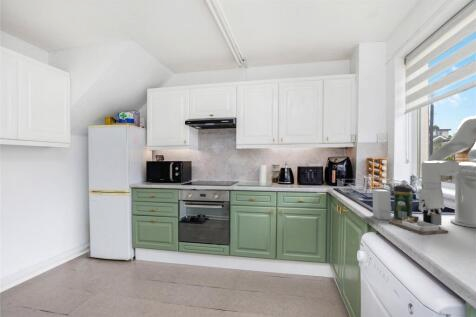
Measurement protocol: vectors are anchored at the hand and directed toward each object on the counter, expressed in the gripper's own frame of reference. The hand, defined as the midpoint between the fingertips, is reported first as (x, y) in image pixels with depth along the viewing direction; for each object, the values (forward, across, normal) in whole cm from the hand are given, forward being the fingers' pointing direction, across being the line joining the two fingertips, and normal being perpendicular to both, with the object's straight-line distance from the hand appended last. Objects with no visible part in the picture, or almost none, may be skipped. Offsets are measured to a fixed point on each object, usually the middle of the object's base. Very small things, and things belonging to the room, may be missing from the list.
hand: (432, 221), depth 114 cm
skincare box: (+1, +15, -16) cm, 22 cm away
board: (+1, +12, +2) cm, 12 cm away
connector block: (+1, 0, 0) cm, 1 cm away
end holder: (+1, +13, +5) cm, 14 cm away
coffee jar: (+2, +3, -14) cm, 14 cm away
